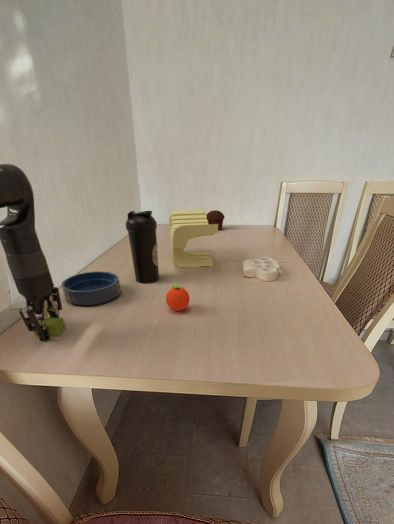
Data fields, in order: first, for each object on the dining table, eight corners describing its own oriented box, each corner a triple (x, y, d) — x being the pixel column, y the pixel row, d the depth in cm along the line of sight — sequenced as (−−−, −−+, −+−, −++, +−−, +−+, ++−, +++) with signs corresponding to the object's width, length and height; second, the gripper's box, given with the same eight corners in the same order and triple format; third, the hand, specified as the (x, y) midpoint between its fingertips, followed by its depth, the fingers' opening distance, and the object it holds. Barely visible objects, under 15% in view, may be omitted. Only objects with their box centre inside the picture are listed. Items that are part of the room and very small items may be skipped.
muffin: (210, 232, 169) (211, 213, 163) (201, 228, 177) (201, 210, 172) (228, 229, 174) (228, 211, 168) (218, 226, 182) (218, 208, 176)
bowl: (56, 306, 91) (51, 291, 88) (78, 284, 105) (74, 271, 103) (112, 307, 90) (109, 292, 87) (126, 285, 104) (124, 271, 102)
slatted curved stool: (171, 253, 136) (168, 211, 126) (205, 251, 138) (205, 209, 128) (175, 275, 112) (172, 225, 102) (216, 273, 113) (218, 224, 103)
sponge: (38, 342, 74) (31, 325, 71) (45, 334, 77) (39, 317, 74) (61, 343, 74) (55, 325, 71) (68, 334, 77) (62, 317, 74)
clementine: (162, 305, 90) (160, 283, 86) (183, 301, 93) (182, 279, 89) (171, 316, 84) (169, 293, 80) (193, 312, 87) (193, 289, 83)
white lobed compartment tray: (242, 264, 121) (278, 265, 120) (243, 280, 107) (284, 281, 105) (242, 256, 120) (279, 257, 118) (244, 271, 105) (286, 272, 103)
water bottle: (159, 284, 105) (153, 214, 92) (131, 284, 105) (120, 214, 92) (162, 274, 113) (157, 208, 100) (136, 274, 113) (127, 209, 101)
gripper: (31, 260, 72) (51, 321, 81) (-7, 282, 60) (22, 350, 69) (61, 260, 71) (77, 321, 81) (29, 282, 59) (53, 351, 69)
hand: (52, 335), depth 75 cm, fingers open, 5 cm apart
